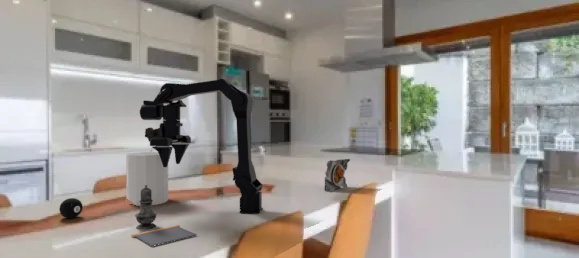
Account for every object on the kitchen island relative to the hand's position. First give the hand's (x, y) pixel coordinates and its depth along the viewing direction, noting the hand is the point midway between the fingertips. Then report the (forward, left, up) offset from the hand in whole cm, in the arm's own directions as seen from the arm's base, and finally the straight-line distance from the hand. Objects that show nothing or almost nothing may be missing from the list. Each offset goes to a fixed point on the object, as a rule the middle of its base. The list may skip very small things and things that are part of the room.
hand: (171, 165), depth 124 cm
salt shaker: (-3, +22, -15) cm, 27 cm away
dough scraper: (-13, +29, -15) cm, 35 cm away
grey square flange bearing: (-56, -44, -15) cm, 73 cm away
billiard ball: (+25, +17, -15) cm, 33 cm away
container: (+14, -8, -15) cm, 22 cm away
